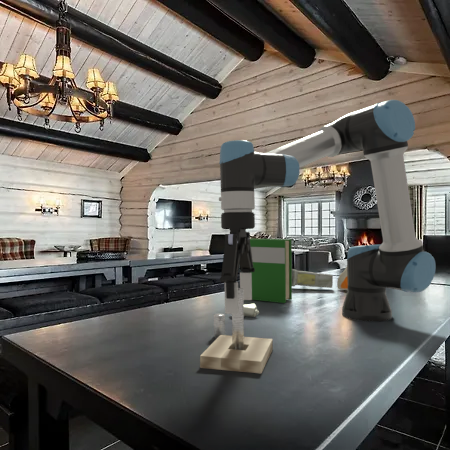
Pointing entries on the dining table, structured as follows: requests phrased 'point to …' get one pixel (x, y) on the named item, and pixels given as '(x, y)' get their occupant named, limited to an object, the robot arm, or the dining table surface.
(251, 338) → the hole plate
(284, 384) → the dining table surface
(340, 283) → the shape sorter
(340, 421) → the dining table surface
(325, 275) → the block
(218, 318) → the short pin
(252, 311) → the pipe fitting
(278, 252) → the hardback book
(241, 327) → the long pin
